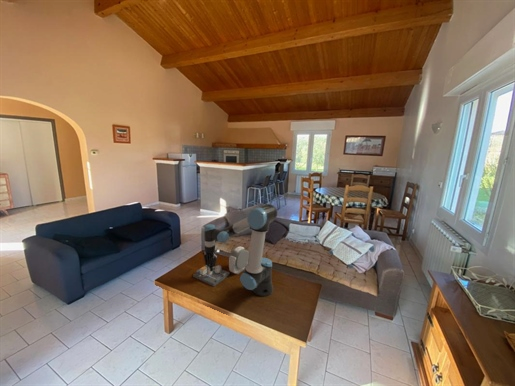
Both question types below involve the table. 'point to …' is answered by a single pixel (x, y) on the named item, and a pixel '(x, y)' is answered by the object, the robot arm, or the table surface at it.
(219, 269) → the fader
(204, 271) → the fader
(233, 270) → the alarm clock
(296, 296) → the table surface
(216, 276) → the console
